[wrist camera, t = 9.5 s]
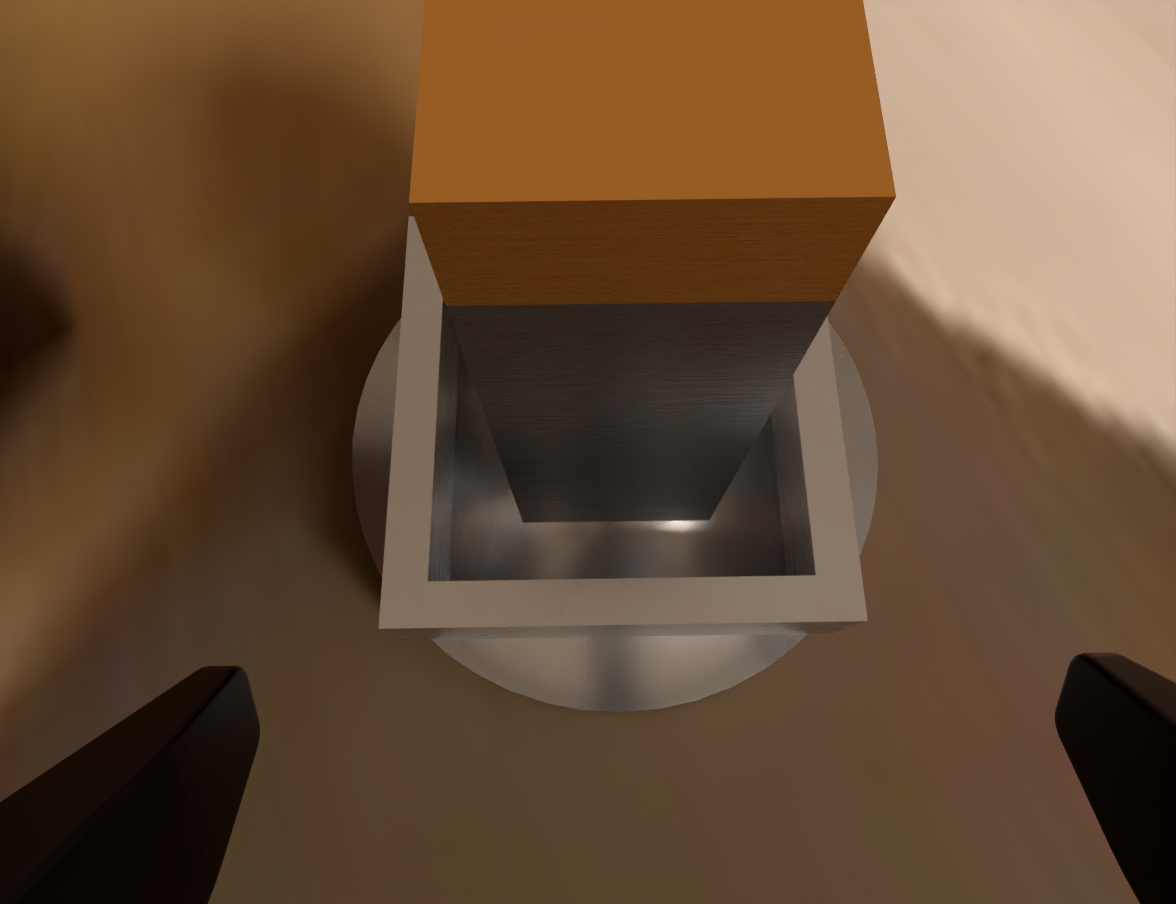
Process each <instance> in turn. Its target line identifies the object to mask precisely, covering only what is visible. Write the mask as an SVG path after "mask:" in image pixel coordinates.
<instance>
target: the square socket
mask: <svg viewBox="0 0 1176 904" xmlns="http://www.w3.org/2000/svg"><path fill="white" fill-rule="evenodd" d="M877 472H878V458H877V445H876V432H875V427H874V423H873V418H872V414H871V409H870V404H869V400H868V397H867V395H866V392H865V389H864V386H863V384H862V381H861V378H860V375H859V372H858V370H857V368H856V366H855V364H854V362H853V360H852V358H851V356H850V355H849V353H848V351H847V349H846V347H845V345H844V343H843V341H842V340H841V339H840V337H839V336H838V334H837V333H836V331H835V330H834V328H833V327H832V326H831V324H830V323H829V321H828V316H827V317H826V319H825V321H824V322H823V324H822V326H821V328H820V329H819V331H818V333H817V335H816V336H815V338H814V340H813V341H812V343H811V345H810V347H809V348H808V350H807V352H806V354H805V355H804V357H803V359H802V361H801V362H800V364H799V366H798V367H797V369H796V371H795V373H794V374H793V376H792V378H791V380H790V381H789V383H788V385H787V387H786V388H785V390H784V392H783V393H782V395H781V397H780V399H779V400H778V402H777V404H776V406H775V407H774V409H773V411H772V413H771V414H770V416H769V418H768V419H767V421H766V423H765V425H764V426H763V428H762V430H761V432H760V433H759V435H758V437H757V439H756V440H755V442H754V444H753V446H752V447H751V449H750V451H749V452H748V454H747V456H746V458H745V459H744V461H743V463H742V465H741V466H740V468H739V470H738V472H737V473H736V475H735V477H734V478H733V480H732V482H731V484H730V485H729V487H728V489H727V491H726V492H725V494H724V496H723V498H722V499H721V501H720V503H719V504H718V506H717V508H716V510H715V511H714V513H713V515H712V517H711V518H710V520H708V521H619V522H531V523H523V521H522V518H521V516H520V513H519V510H518V507H517V504H516V502H515V499H514V496H513V493H512V490H511V488H510V485H509V482H508V479H507V476H506V474H505V471H504V468H503V465H502V462H501V460H500V457H499V454H498V451H497V448H496V446H495V443H494V440H493V437H492V434H491V432H490V429H489V426H488V423H487V420H486V417H485V415H484V412H483V409H482V406H481V403H480V401H479V398H478V395H477V392H476V389H475V387H474V384H473V381H472V378H471V375H470V373H469V370H468V367H467V364H466V361H465V359H464V356H463V353H462V350H461V347H460V345H459V342H458V339H457V336H456V333H455V331H454V328H453V325H452V322H451V319H450V317H449V314H448V311H447V308H446V305H445V303H444V300H443V297H442V294H441V291H440V288H439V286H438V283H437V280H436V277H435V274H434V272H433V269H432V266H431V263H430V260H429V258H428V255H427V252H426V249H425V246H424V244H423V241H422V238H421V235H420V232H419V230H418V227H417V224H416V221H415V218H414V216H409V220H408V234H407V247H406V261H405V275H404V288H403V302H402V316H401V318H400V320H399V321H398V322H397V323H396V325H395V326H394V328H393V330H392V331H391V333H390V334H389V336H388V338H387V339H386V341H385V343H384V344H383V346H382V347H381V349H380V351H379V353H378V355H377V357H376V359H375V362H374V364H373V366H372V368H371V370H370V373H369V375H368V377H367V380H366V383H365V386H364V389H363V393H362V396H361V399H360V403H359V406H358V409H357V416H356V422H355V428H354V434H353V441H352V479H353V487H354V496H355V504H356V509H357V512H358V516H359V520H360V524H361V528H362V531H363V535H364V539H365V541H366V543H367V546H368V548H369V550H370V553H371V555H372V558H373V560H374V562H375V565H376V567H377V569H378V571H379V573H380V574H381V576H382V589H381V603H380V617H379V629H380V630H383V631H385V632H387V633H390V634H392V635H394V636H397V637H399V638H401V639H404V640H432V641H433V642H435V643H436V644H437V645H438V646H439V647H440V648H441V649H442V650H443V651H444V652H445V653H447V654H448V655H450V656H451V657H453V658H454V659H455V660H457V661H458V662H460V663H461V664H463V665H464V666H466V667H467V668H468V669H470V670H471V671H473V672H474V673H476V674H478V675H480V676H482V677H484V678H486V679H488V680H490V681H492V682H493V683H495V684H497V685H499V686H501V687H503V688H505V689H507V690H509V691H512V692H515V693H518V694H521V695H524V696H527V697H530V698H533V699H536V700H538V701H541V702H544V703H547V704H552V705H557V706H562V707H568V708H573V709H578V710H583V711H601V712H619V713H621V712H632V711H644V710H656V709H661V708H666V707H670V706H675V705H679V704H683V703H688V702H692V701H697V700H699V699H702V698H705V697H707V696H710V695H713V694H715V693H718V692H720V691H723V690H726V689H728V688H731V687H733V686H735V685H737V684H739V683H740V682H742V681H744V680H746V679H748V678H750V677H751V676H753V675H755V674H757V673H759V672H760V671H762V670H764V669H766V668H767V667H768V666H770V665H771V664H772V663H774V662H775V661H776V660H778V659H779V658H780V657H782V656H783V655H784V654H786V653H787V652H788V651H790V650H791V649H792V648H793V647H795V646H796V645H797V644H798V643H799V642H800V641H801V640H802V639H803V638H804V637H805V636H806V635H807V634H830V633H836V632H839V631H842V630H844V629H847V628H850V627H853V626H855V625H858V624H861V623H864V622H866V621H868V620H867V612H866V605H865V597H864V589H863V582H862V574H861V567H860V559H859V556H860V554H861V551H862V548H863V545H864V543H865V540H866V537H867V534H868V532H869V528H870V523H871V518H872V514H873V509H874V504H875V499H876V488H877Z"/></svg>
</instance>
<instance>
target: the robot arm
mask: <svg viewBox="0 0 1176 904" xmlns="http://www.w3.org/2000/svg"><path fill="white" fill-rule="evenodd" d="M1055 723H1056V728H1057V732H1058V735H1059V737H1060V739H1061V742H1062V744H1063V746H1064V748H1065V750H1066V752H1067V755H1068V757H1069V759H1070V761H1071V763H1072V765H1073V768H1074V770H1075V772H1076V774H1077V776H1078V779H1079V781H1080V783H1081V785H1082V787H1083V789H1084V792H1085V794H1086V796H1087V798H1088V800H1089V802H1090V805H1091V807H1092V809H1093V811H1094V813H1095V815H1096V818H1097V820H1098V822H1099V824H1100V826H1101V828H1102V831H1103V833H1104V835H1105V837H1106V839H1107V841H1108V844H1109V846H1110V848H1111V850H1112V852H1113V854H1114V856H1115V858H1116V860H1117V862H1118V864H1119V866H1120V868H1121V870H1122V872H1123V874H1124V876H1125V877H1126V879H1127V881H1128V883H1129V885H1130V887H1131V888H1132V890H1133V892H1134V894H1135V896H1136V897H1137V899H1138V901H1139V903H1140V904H1176V682H1174V681H1172V680H1170V679H1168V678H1166V677H1164V676H1162V675H1160V674H1158V673H1156V672H1154V671H1152V670H1150V669H1148V668H1146V667H1144V666H1142V665H1140V664H1138V663H1137V662H1135V661H1133V660H1131V659H1129V658H1127V657H1125V656H1123V655H1120V654H1116V653H1082V654H1079V655H1076V656H1075V657H1074V658H1073V659H1072V660H1071V662H1070V665H1069V668H1068V671H1067V674H1066V677H1065V681H1064V684H1063V687H1062V690H1061V694H1060V697H1059V700H1058V703H1057V707H1056V711H1055ZM259 737H260V724H259V719H258V715H257V711H256V707H255V703H254V699H253V695H252V691H251V687H250V683H249V679H248V676H247V674H246V672H245V671H244V669H243V668H241V667H239V666H207V667H203V668H200V669H199V670H197V671H195V672H194V673H192V674H191V675H189V676H188V677H186V678H185V679H183V680H182V681H180V682H179V683H177V684H176V685H174V686H173V687H171V688H170V689H168V690H167V691H165V692H164V693H162V694H161V695H159V696H158V697H156V698H155V699H153V700H152V701H150V702H149V703H148V704H146V705H145V706H143V707H142V708H140V709H139V710H137V711H136V712H134V713H133V714H131V715H130V716H128V717H127V718H125V719H124V720H122V721H121V722H119V723H118V724H116V725H115V726H113V727H112V728H110V729H109V730H107V731H106V732H104V733H103V734H101V735H100V736H98V737H97V738H95V739H94V740H92V741H91V742H89V743H88V744H86V745H85V746H83V747H82V748H80V749H79V750H77V751H76V752H74V753H73V754H71V755H70V756H68V757H67V758H65V759H64V760H62V761H61V762H59V763H58V764H56V765H55V766H53V767H52V768H51V769H49V770H48V771H46V772H45V773H43V774H42V775H40V776H39V777H37V778H36V779H34V780H33V781H31V782H30V783H28V784H27V785H25V786H24V787H22V788H21V789H19V790H18V791H16V792H15V793H13V794H12V795H10V796H9V797H7V798H6V799H4V800H3V801H1V802H0V904H208V901H209V899H210V896H211V894H212V891H213V889H214V886H215V883H216V880H217V877H218V874H219V871H220V868H221V865H222V862H223V859H224V856H225V853H226V849H227V846H228V843H229V839H230V836H231V833H232V830H233V826H234V823H235V820H236V816H237V813H238V810H239V807H240V803H241V800H242V797H243V793H244V790H245V787H246V784H247V780H248V777H249V774H250V770H251V767H252V764H253V760H254V757H255V754H256V751H257V747H258V743H259Z"/></svg>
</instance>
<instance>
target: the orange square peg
mask: <svg viewBox="0 0 1176 904" xmlns="http://www.w3.org/2000/svg"><path fill="white" fill-rule="evenodd" d="M895 197H896V194H895V188H894V182H893V176H892V170H891V164H890V158H889V152H888V146H887V140H886V135H885V129H884V123H883V117H882V111H881V105H880V99H879V93H878V87H877V81H876V75H875V69H874V64H873V58H872V52H871V46H870V40H869V34H868V28H867V22H866V16H865V10H864V4H863V0H425V7H424V20H423V32H422V45H421V57H420V70H419V82H418V95H417V108H416V120H415V133H414V145H413V158H412V171H411V183H410V196H409V204H410V207H411V210H412V213H413V216H414V218H415V221H416V224H417V227H418V230H419V232H420V235H421V238H422V241H423V244H424V246H425V249H426V252H427V255H428V258H429V260H430V263H431V266H432V269H433V272H434V274H435V277H436V280H437V283H438V286H439V288H440V291H441V294H442V297H443V300H444V303H445V305H446V308H447V311H448V314H449V317H450V319H451V322H452V325H453V328H454V331H455V333H456V336H457V339H458V342H459V345H460V347H461V350H462V353H463V356H464V359H465V361H466V364H467V367H468V370H469V373H470V375H471V378H472V381H473V384H474V387H475V389H476V392H477V395H478V398H479V401H480V403H481V406H482V409H483V412H484V415H485V417H486V420H487V423H488V426H489V429H490V432H491V434H492V437H493V440H494V443H495V446H496V448H497V451H498V454H499V457H500V460H501V462H502V465H503V468H504V471H505V474H506V476H507V479H508V482H509V485H510V488H511V490H512V493H513V496H514V499H515V502H516V504H517V507H518V510H519V513H520V516H521V518H522V521H523V523H531V522H619V521H708V520H710V518H711V517H712V515H713V513H714V511H715V510H716V508H717V506H718V504H719V503H720V501H721V499H722V498H723V496H724V494H725V492H726V491H727V489H728V487H729V485H730V484H731V482H732V480H733V478H734V477H735V475H736V473H737V472H738V470H739V468H740V466H741V465H742V463H743V461H744V459H745V458H746V456H747V454H748V452H749V451H750V449H751V447H752V446H753V444H754V442H755V440H756V439H757V437H758V435H759V433H760V432H761V430H762V428H763V426H764V425H765V423H766V421H767V419H768V418H769V416H770V414H771V413H772V411H773V409H774V407H775V406H776V404H777V402H778V400H779V399H780V397H781V395H782V393H783V392H784V390H785V388H786V387H787V385H788V383H789V381H790V380H791V378H792V376H793V374H794V373H795V371H796V369H797V367H798V366H799V364H800V362H801V361H802V359H803V357H804V355H805V354H806V352H807V350H808V348H809V347H810V345H811V343H812V341H813V340H814V338H815V336H816V335H817V333H818V331H819V329H820V328H821V326H822V324H823V322H824V321H825V319H826V317H827V315H828V314H829V312H830V310H831V308H832V307H833V305H834V303H835V302H836V300H837V298H838V296H839V295H840V293H841V291H842V289H843V288H844V286H845V284H846V282H847V281H848V279H849V277H850V276H851V274H852V272H853V270H854V269H855V267H856V265H857V263H858V262H859V260H860V258H861V256H862V255H863V253H864V251H865V250H866V248H867V246H868V244H869V243H870V241H871V239H872V237H873V236H874V234H875V232H876V230H877V229H878V227H879V225H880V224H881V222H882V220H883V218H884V217H885V215H886V213H887V211H888V210H889V208H890V206H891V204H892V203H893V201H894V199H895Z"/></svg>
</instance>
